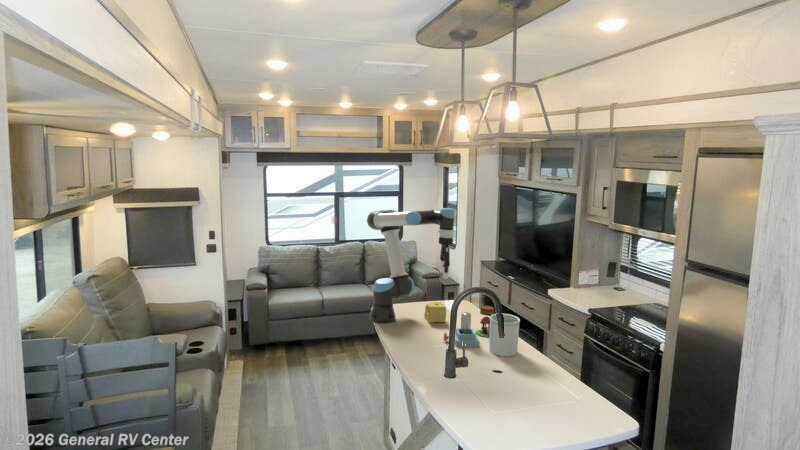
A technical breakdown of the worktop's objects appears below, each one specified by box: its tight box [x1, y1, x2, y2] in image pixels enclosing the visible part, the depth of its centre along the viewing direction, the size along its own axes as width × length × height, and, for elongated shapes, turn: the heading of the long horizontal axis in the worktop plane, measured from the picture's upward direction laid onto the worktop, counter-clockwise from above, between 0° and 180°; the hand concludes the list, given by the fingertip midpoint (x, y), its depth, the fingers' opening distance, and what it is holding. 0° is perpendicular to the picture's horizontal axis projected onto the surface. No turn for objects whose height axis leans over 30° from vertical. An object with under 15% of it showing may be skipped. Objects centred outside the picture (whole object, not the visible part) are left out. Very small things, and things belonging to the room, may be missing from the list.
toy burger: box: [475, 305, 495, 338], centre depth 270 cm, size 12×13×15 cm
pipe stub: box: [460, 311, 472, 334], centre depth 257 cm, size 5×5×12 cm
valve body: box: [443, 327, 480, 348], centre depth 258 cm, size 14×17×6 cm
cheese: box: [423, 301, 447, 324], centre depth 290 cm, size 10×11×10 cm
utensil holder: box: [488, 313, 521, 358], centre depth 246 cm, size 15×15×18 cm
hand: (443, 275), depth 268 cm, fingers open, 13 cm apart
